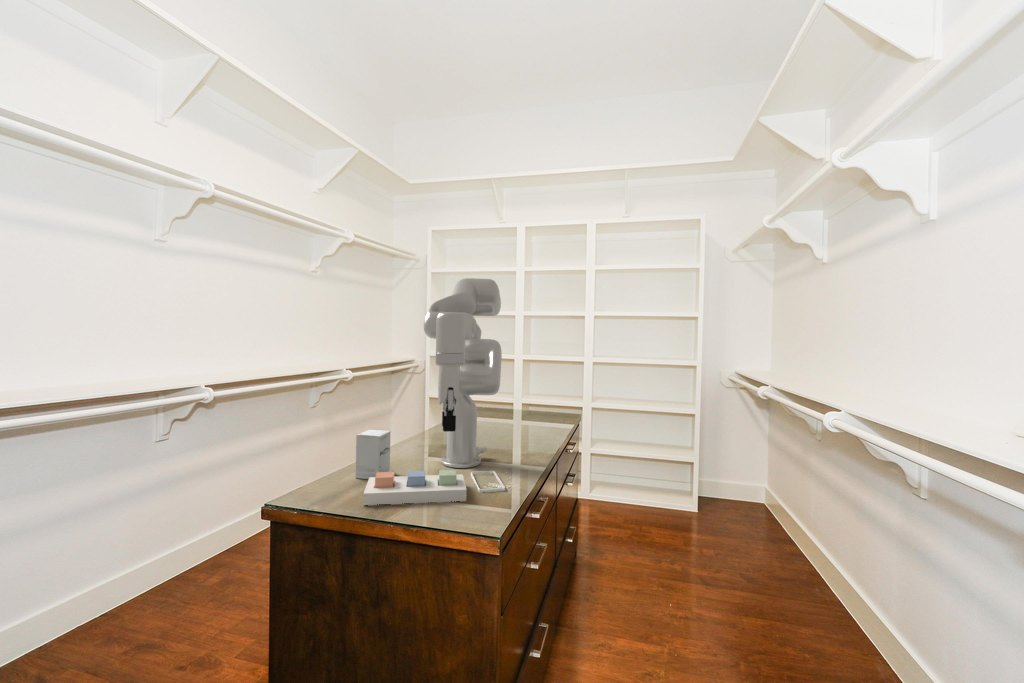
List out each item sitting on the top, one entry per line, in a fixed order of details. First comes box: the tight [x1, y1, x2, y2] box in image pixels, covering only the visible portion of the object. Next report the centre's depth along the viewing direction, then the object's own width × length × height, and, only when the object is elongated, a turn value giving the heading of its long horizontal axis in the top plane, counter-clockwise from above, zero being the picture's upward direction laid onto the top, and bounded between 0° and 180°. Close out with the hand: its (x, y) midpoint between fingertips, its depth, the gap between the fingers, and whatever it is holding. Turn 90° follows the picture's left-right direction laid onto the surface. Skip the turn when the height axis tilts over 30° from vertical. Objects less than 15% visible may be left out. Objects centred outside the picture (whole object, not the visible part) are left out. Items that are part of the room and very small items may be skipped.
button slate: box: [407, 470, 426, 487], centre depth 121 cm, size 4×4×3 cm
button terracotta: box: [375, 471, 395, 488], centre depth 120 cm, size 4×4×3 cm
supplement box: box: [355, 429, 391, 480], centre depth 135 cm, size 7×7×13 cm
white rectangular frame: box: [470, 470, 506, 494], centre depth 132 cm, size 7×1×15 cm
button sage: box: [438, 469, 457, 486], centre depth 123 cm, size 4×4×3 cm
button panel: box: [362, 473, 467, 506], centre depth 121 cm, size 25×12×3 cm, turn 101°
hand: (448, 427), depth 122 cm, fingers open, 4 cm apart
